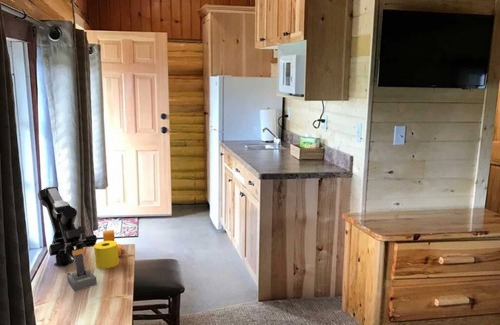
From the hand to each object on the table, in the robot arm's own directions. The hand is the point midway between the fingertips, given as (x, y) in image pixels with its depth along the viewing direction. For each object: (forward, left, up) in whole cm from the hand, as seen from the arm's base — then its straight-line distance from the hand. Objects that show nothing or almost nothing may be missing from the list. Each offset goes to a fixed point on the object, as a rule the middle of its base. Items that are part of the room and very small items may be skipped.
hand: (78, 262), depth 187 cm
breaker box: (+1, +1, -9) cm, 9 cm away
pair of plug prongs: (-4, -5, -9) cm, 11 cm away
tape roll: (-19, 0, -9) cm, 21 cm away
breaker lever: (+1, +1, -5) cm, 5 cm away
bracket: (-31, -4, -9) cm, 32 cm away
